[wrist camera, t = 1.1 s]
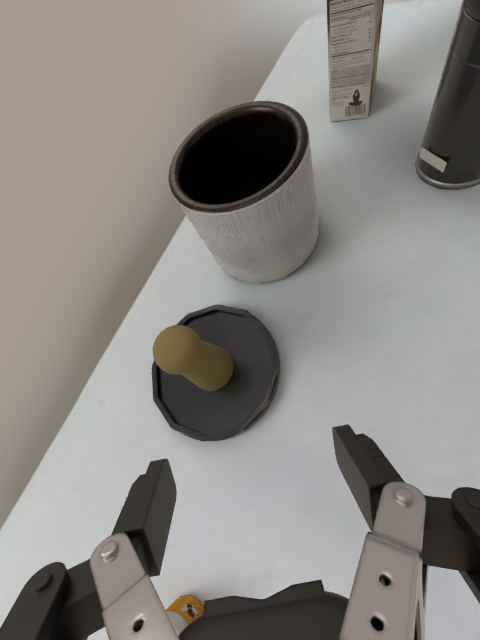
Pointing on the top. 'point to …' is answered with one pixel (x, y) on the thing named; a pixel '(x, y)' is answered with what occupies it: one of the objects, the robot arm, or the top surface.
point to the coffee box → (352, 56)
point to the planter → (250, 189)
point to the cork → (192, 357)
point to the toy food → (184, 612)
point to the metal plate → (239, 392)
